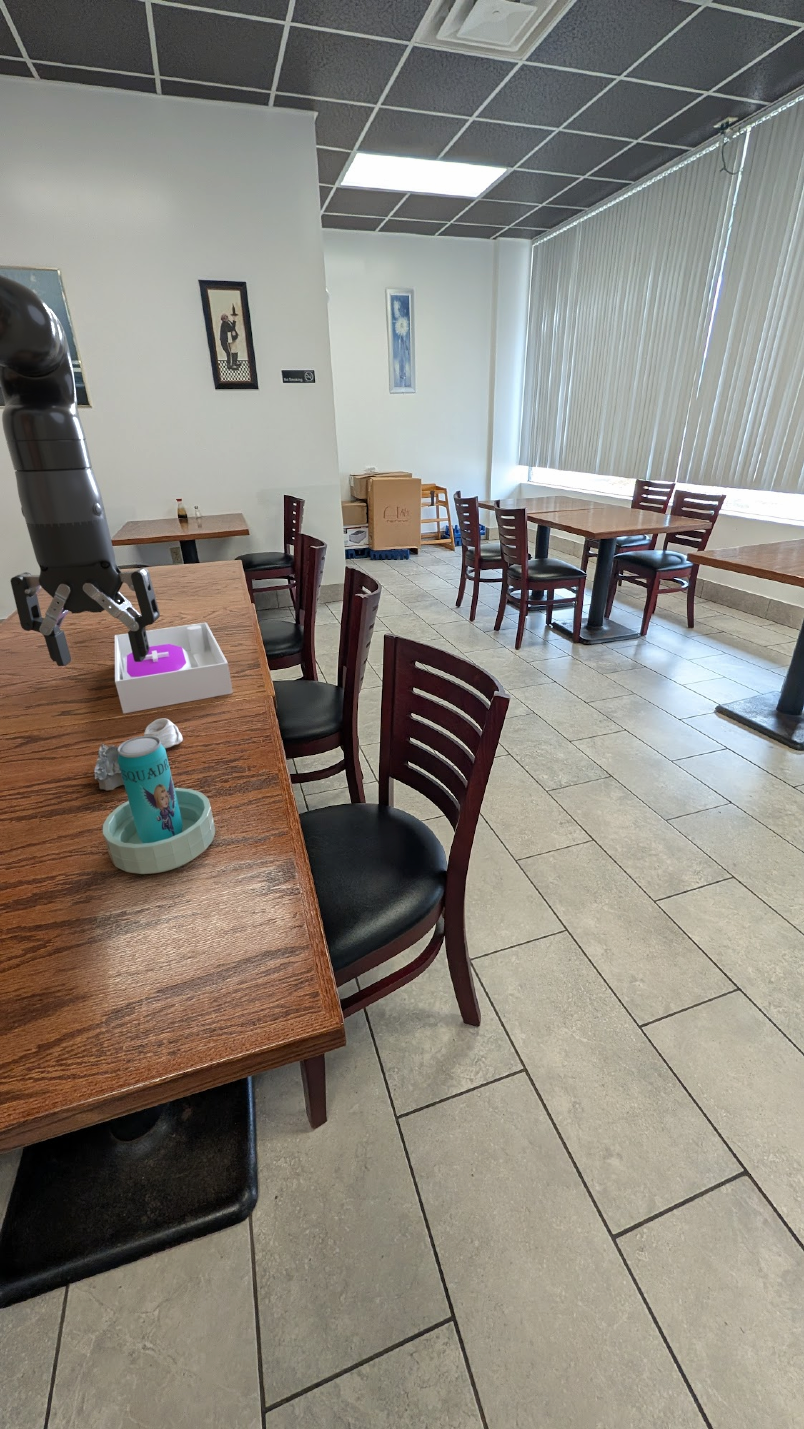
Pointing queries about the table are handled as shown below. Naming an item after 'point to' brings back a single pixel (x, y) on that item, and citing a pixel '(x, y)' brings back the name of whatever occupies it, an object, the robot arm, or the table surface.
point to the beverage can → (150, 788)
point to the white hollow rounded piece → (164, 732)
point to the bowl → (164, 853)
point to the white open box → (171, 668)
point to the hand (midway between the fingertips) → (102, 661)
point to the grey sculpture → (108, 768)
